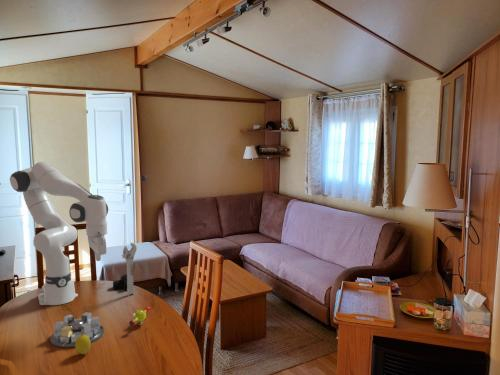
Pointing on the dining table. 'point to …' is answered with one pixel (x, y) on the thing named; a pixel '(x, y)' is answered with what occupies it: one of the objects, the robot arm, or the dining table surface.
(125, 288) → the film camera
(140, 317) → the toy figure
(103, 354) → the dining table surface
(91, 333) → the cube bead bracelet
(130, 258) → the wrench
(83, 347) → the lemon
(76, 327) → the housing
